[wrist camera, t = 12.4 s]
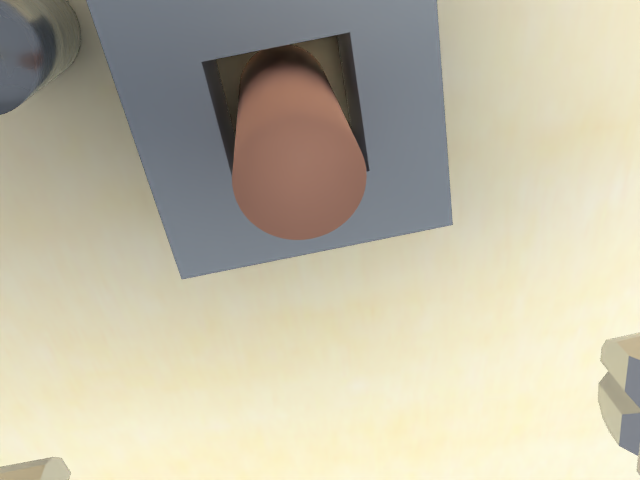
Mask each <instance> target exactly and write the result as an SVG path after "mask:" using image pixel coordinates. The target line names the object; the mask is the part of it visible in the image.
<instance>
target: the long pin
mask: <svg viewBox="0 0 640 480" xmlns="http://www.w3.org/2000/svg"><path fill="white" fill-rule="evenodd" d="M366 178H367V173H366V165H365V160H364V157H363V154H362V152H361V150H360V147H359V145H358V143H357V141H356V139H355V137H354V135H353V133H352V131H351V128H350V126H349V124H348V122H347V120H346V118H345V116H344V114H343V112H342V109H341V107H340V105H339V103H338V101H337V99H336V97H335V95H334V92H333V90H332V88H331V86H330V84H329V82H328V80H327V78H326V76H325V73H324V71H323V69H322V67H321V66H320V64H319V63H318V61H317V60H316V59H315V58H314V57H313V56H312V55H311V54H310V53H309V52H307V51H305V50H304V49H302V48H299V47H297V46H293V45H284V46H279V47H274V48H269V49H264V50H261V51H259V52H258V53H256V54H255V55H254V56H253V57H252V58H251V59H250V60H249V62H248V63H247V64H246V66H245V68H244V70H243V73H242V75H241V80H240V89H239V101H238V113H237V124H236V136H235V148H234V159H233V171H232V187H233V192H234V196H235V199H236V201H237V203H238V205H239V207H240V209H241V211H242V212H243V214H244V215H245V216H246V217H247V218H248V220H249V221H250V222H251V223H253V224H254V225H255V226H256V227H258V228H259V229H261V230H262V231H264V232H266V233H268V234H270V235H273V236H276V237H279V238H283V239H289V240H306V239H313V238H316V237H320V236H323V235H325V234H328V233H330V232H332V231H334V230H335V229H337V228H338V227H340V226H341V225H342V224H344V223H345V222H346V221H347V220H348V219H349V218H350V217H351V216H352V214H353V213H354V212H355V210H356V209H357V207H358V206H359V204H360V202H361V200H362V197H363V194H364V192H365V187H366Z"/></svg>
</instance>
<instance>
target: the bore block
mask: <svg viewBox="0 0 640 480" xmlns="http://www.w3.org/2000/svg"><path fill="white" fill-rule="evenodd" d="M86 1H87V4H88V7H89V10H90V13H91V16H92V19H93V22H94V25H95V28H96V30H97V33H98V36H99V39H100V42H101V45H102V48H103V51H104V54H105V57H106V60H107V63H108V65H109V68H110V71H111V74H112V77H113V80H114V83H115V86H116V89H117V92H118V95H119V98H120V100H121V103H122V106H123V109H124V112H125V115H126V118H127V121H128V124H129V127H130V130H131V133H132V136H133V138H134V141H135V144H136V147H137V150H138V153H139V156H140V159H141V162H142V165H143V168H144V171H145V173H146V176H147V179H148V182H149V185H150V188H151V191H152V194H153V197H154V200H155V203H156V206H157V208H158V211H159V214H160V217H161V220H162V223H163V226H164V229H165V232H166V235H167V238H168V241H169V243H170V246H171V249H172V252H173V255H174V258H175V261H176V264H177V267H178V270H179V273H180V276H181V279H186V278H191V277H196V276H201V275H206V274H211V273H216V272H221V271H226V270H231V269H236V268H241V267H246V266H251V265H256V264H261V263H266V262H271V261H275V260H280V259H285V258H290V257H295V256H300V255H305V254H310V253H315V252H320V251H325V250H330V249H335V248H340V247H345V246H350V245H355V244H360V243H365V242H370V241H375V240H380V239H385V238H390V237H395V236H400V235H405V234H410V233H415V232H420V231H425V230H430V229H435V228H440V227H444V226H449V225H453V222H452V208H451V194H450V180H449V166H448V152H447V138H446V124H445V110H444V96H443V82H442V68H441V54H440V40H439V26H438V12H437V0H86ZM334 35H337V39H338V46H339V52H340V59H341V65H342V72H343V78H344V85H345V92H346V98H347V105H348V111H349V118H350V124H351V131H352V133H353V135H354V137H355V139H356V141H357V143H358V145H359V147H360V150H361V152H362V154H363V157H364V160H365V165H366V173H367V178H366V187H365V192H364V194H363V197H362V200H361V202H360V204H359V206H358V207H357V209H356V210H355V212H354V213H353V214H352V216H351V217H350V218H349V219H348V220H347V221H346V222H345V223H344V224H342V225H341V226H340V227H338V228H337V229H335V230H334V231H332V232H330V233H328V234H325V235H323V236H320V237H316V238H313V239H306V240H289V239H283V238H279V237H276V236H273V235H270V234H268V233H266V232H264V231H262V230H261V229H259V228H258V227H256V226H255V225H254V224H253V223H251V222H250V221H249V220H248V218H247V217H246V216H245V215H244V214H243V212H242V211H241V209H240V207H239V205H238V203H237V201H236V199H235V196H234V192H233V187H232V171H233V159H234V148H235V134H234V130H233V126H232V122H231V118H230V114H229V110H228V106H227V102H226V98H225V95H224V91H223V87H222V83H221V79H220V75H219V71H218V67H217V63H216V59H219V58H224V57H229V56H234V55H239V54H244V53H249V52H254V51H259V50H264V49H269V48H274V47H279V46H284V45H289V44H294V43H299V42H304V41H309V40H314V39H319V38H324V37H329V36H334Z"/></svg>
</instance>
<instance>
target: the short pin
mask: <svg viewBox="0 0 640 480" xmlns="http://www.w3.org/2000/svg"><path fill="white" fill-rule="evenodd" d="M80 42H81V33H80V26H79V23H78V20H77V17H76V15H75V13H74V11H73V9H72V8H71V6H70V5H69V3H68V2H67V1H66V0H0V115H1V114H5V113H7V112H9V111H12V110H13V109H15V108H16V107H18V106H19V105H20V104H22V103H23V102H24V101H26V100H27V99H28V98H29V97H31V96H32V95H33V94H35V93H36V92H37V91H38V90H40V89H41V88H42V87H44V86H45V85H46V84H47V83H49V82H50V81H51V80H53V79H54V78H55V77H56V76H58V75H59V74H60V73H62V72H63V71H64V70H65V69H67V68H68V67H69V66H70V65H71V64H72V63H73V61H74V60H75V58H76V56H77V54H78V52H79V48H80Z"/></svg>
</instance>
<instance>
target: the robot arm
mask: <svg viewBox="0 0 640 480" xmlns="http://www.w3.org/2000/svg"><path fill="white" fill-rule="evenodd" d="M600 361H601V362H602V364H603V365H604V366H605V367H606V369H607V370H608V372H607V374H606V375H605V376H604V377H603V379H602V380H601V381H600V382H599V386H598V402H599V406H600V410H601V414H602V418H603V420H604V422H605V424H606V426H607V428H608V430H609V432H610V433H611V435H612V436H613V438H614V439H615V441H616V442H617V444H618V445H619V446H620V447H622V448H624V449H626V450H628V451H630V452H632V453H634V454H636V455H638V463H637V472H638V473H639V475H640V333H635V334H630V335H626V336H621V337H617V338H612V339H608V340H606V341H605V343H604V344H603V346H602V349H601V360H600ZM70 475H71V472H70V470H69V469H68V467H67V466H66V464H65V462H64V461H63V459H62V458H58V457H51V458H45V459H40V460H34V461H29V462H24V463H18V464H13V465H8V466H2V467H0V480H69V478H70Z"/></svg>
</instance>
